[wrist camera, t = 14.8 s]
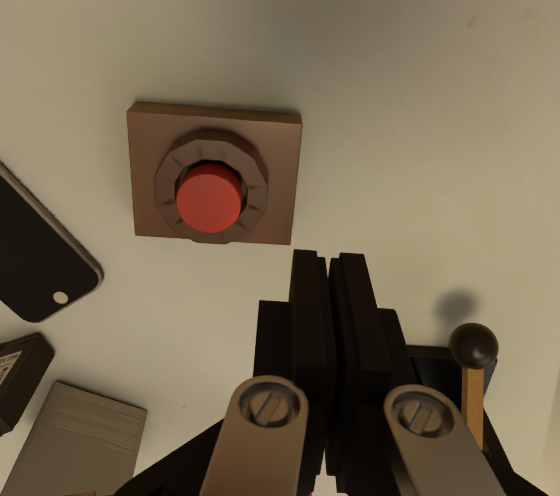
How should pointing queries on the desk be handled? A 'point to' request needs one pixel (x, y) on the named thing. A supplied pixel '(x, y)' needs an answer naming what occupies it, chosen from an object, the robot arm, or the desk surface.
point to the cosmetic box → (77, 446)
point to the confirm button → (209, 198)
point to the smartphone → (39, 257)
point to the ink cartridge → (20, 376)
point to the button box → (218, 150)
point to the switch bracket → (453, 387)
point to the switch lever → (473, 370)
